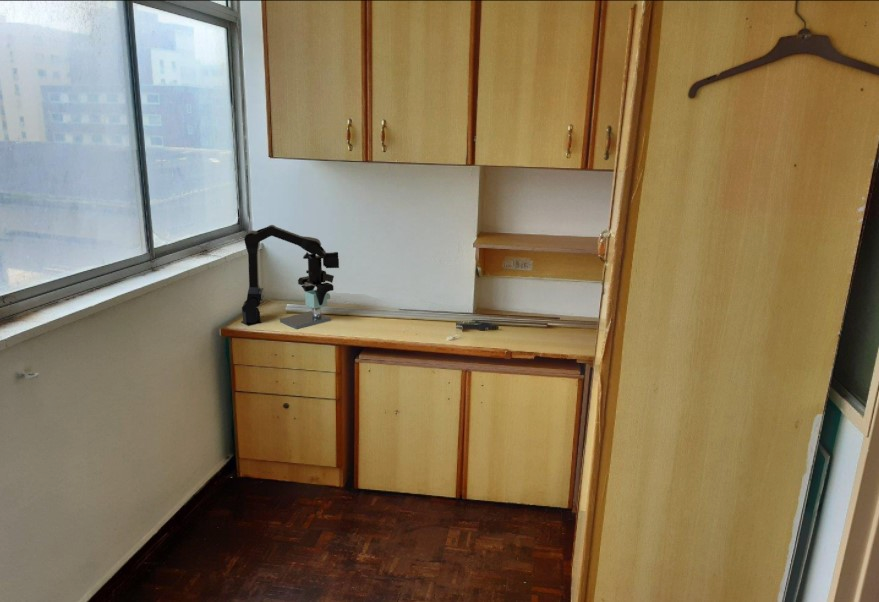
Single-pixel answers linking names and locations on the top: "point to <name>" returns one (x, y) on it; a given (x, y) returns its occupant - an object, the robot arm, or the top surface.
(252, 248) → the robot arm
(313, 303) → the duct collar
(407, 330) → the top surface
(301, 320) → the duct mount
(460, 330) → the top surface
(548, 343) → the top surface
